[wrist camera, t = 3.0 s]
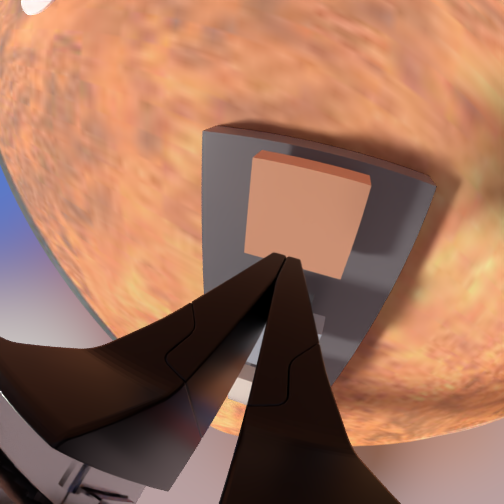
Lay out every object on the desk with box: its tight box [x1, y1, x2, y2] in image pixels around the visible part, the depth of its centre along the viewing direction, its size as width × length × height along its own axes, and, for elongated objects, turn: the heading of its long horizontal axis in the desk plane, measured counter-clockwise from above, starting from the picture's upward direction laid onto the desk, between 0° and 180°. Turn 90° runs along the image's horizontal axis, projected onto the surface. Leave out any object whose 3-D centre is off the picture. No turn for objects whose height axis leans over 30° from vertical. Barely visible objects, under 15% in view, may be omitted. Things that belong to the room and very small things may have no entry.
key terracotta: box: [244, 150, 371, 279], centre depth 12 cm, size 4×4×2 cm
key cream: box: [228, 364, 256, 405], centre depth 19 cm, size 4×4×2 cm
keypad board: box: [202, 126, 437, 386], centre depth 17 cm, size 19×11×2 cm, turn 175°
